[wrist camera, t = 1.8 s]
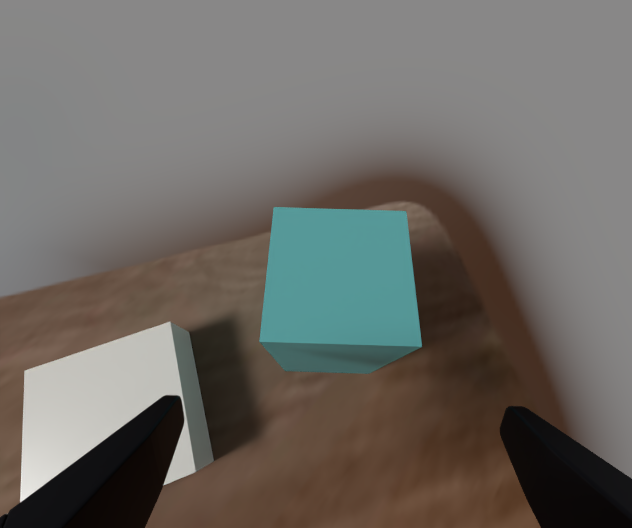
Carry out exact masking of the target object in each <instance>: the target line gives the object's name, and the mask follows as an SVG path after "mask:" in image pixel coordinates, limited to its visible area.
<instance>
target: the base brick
mask: <svg viewBox="0 0 632 528" xmlns="http://www.w3.org/2000/svg"><path fill="white" fill-rule="evenodd" d="M165 395H178V396H180V397H181V400H182V405H183V411H184V426H183V429H182V432H181V435H180V438H179V441H178V444H177V447H176V450H175V453H174V456H173V459H172V462H171V465H170V468H169V470H168V473H167V476H166V479H165V482H164V485H166V484H168V483H171V482H173V481H175V480H178V479H180V478H182V477H185V476H187V475H190V474H192V473H194V472H196V471H198V470H200V469H202V468H203V467H205V466H207V465H208V464H210V463H212V462H213V461H214V459H213V454H212V448H211V443H210V438H209V433H208V428H207V422H206V417H205V412H204V407H203V402H202V397H201V391H200V386H199V381H198V376H197V371H196V366H195V360H194V355H193V350H192V345H191V340H190V335H189V332H188V331H186V330H184V329H182V328H181V327H179V326H177V325H175V324H174V323H172V322H168V323H165V324H162V325H159V326H156V327H153V328H150V329H147V330H144V331H141V332H138V333H135V334H132V335H129V336H126V337H123V338H120V339H117V340H114V341H111V342H108V343H105V344H102V345H100V346H97V347H94V348H91V349H88V350H85V351H82V352H79V353H76V354H73V355H70V356H67V357H64V358H61V359H58V360H55V361H52V362H49V363H46V364H43V365H40V366H37V367H34V368H31V369H28V370H25V377H24V407H23V437H22V467H21V497H20V502H22V501H23V500H24V499H26V498H27V497H28V496H30V495H31V494H32V493H34V492H35V491H36V490H38V489H39V488H40V487H42V486H43V485H44V484H46V483H47V482H48V481H50V480H51V479H52V478H54V477H55V476H56V475H58V474H59V473H60V472H62V471H63V470H65V469H66V468H67V467H69V466H70V465H71V464H73V463H74V462H75V461H77V460H78V459H79V458H81V457H82V456H83V455H85V454H86V453H87V452H89V451H90V450H91V449H93V448H94V447H95V446H97V445H98V444H99V443H101V442H102V441H103V440H105V439H106V438H107V437H109V436H110V435H111V434H113V433H114V432H115V431H117V430H118V429H120V428H121V427H122V426H124V425H125V424H126V423H128V422H129V421H130V420H132V419H133V418H134V417H136V416H137V415H138V414H140V413H141V412H142V411H144V410H145V409H146V408H148V407H149V406H150V405H152V404H153V403H154V402H156V401H157V400H158V399H160V398H161V397H163V396H165Z"/></svg>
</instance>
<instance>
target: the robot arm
mask: <svg viewBox="0 0 632 528" xmlns="http://www.w3.org/2000/svg"><path fill="white" fill-rule="evenodd" d="M183 426H184V411H183V405H182V400H181V397H180V396H178V395H165V396H163V397H161V398H160V399H158V400H157V401H156V402H154V403H153V404H152V405H150V406H149V407H148V408H146V409H145V410H144V411H142V412H141V413H140V414H138V415H137V416H136V417H134V418H133V419H132V420H130V421H129V422H128V423H126V424H125V425H124V426H122V427H121V428H120V429H118V430H117V431H115V432H114V433H113V434H111V435H110V436H109V437H107V438H106V439H105V440H103V441H102V442H101V443H99V444H98V445H97V446H95V447H94V448H93V449H91V450H90V451H89V452H87V453H86V454H85V455H83V456H82V457H81V458H79V459H78V460H77V461H75V462H74V463H73V464H71V465H70V466H69V467H67V468H66V469H65V470H63V471H62V472H60V473H59V474H58V475H56V476H55V477H54V478H52V479H51V480H50V481H48V482H47V483H46V484H44V485H43V486H42V487H40V488H39V489H38V490H36V491H35V492H34V493H32V494H31V495H30V496H28V497H27V498H26V499H24V500H23V501H22V502H20V503H19V504H18V505H16V506H15V507H14V508H12V509H11V510H10V511H9V513H8V514H4V515H3V516H1V517H0V528H145V526H146V524H147V522H148V519H149V517H150V515H151V513H152V510H153V508H154V506H155V504H156V502H157V499H158V497H159V495H160V492H161V490H162V487H163V485H164V482H165V479H166V476H167V473H168V470H169V468H170V465H171V462H172V459H173V456H174V453H175V450H176V447H177V444H178V441H179V438H180V435H181V432H182V429H183ZM500 435H501V438H502V441H503V443H504V446H505V448H506V451H507V453H508V456H509V458H510V460H511V463H512V465H513V468H514V470H515V473H516V475H517V477H518V480H519V482H520V485H521V487H522V489H523V492H524V494H525V496H526V499H527V501H528V503H529V505H530V507H531V509H532V511H533V513H534V515H535V517H536V519H537V521H538V523H539V525H540V527H541V528H632V479H631V478H630V477H628V476H627V475H625V474H624V473H622V472H621V471H619V470H618V469H616V468H615V467H613V466H612V465H610V464H609V463H607V462H606V461H604V460H603V459H602V458H600V457H598V456H597V455H596V454H594V453H593V452H591V451H590V450H588V449H587V448H585V447H584V446H582V445H581V444H579V443H578V442H576V441H574V440H573V439H572V438H570V437H569V436H567V435H566V434H564V433H563V432H561V431H560V430H558V429H557V428H555V427H554V426H552V425H551V424H550V423H548V422H547V421H545V420H544V419H542V418H541V417H539V416H538V415H536V414H535V413H533V412H532V411H530V410H529V409H527V408H525V407H522V406H509V407H507V408H506V410H505V414H504V417H503V420H502V423H501V426H500Z"/></svg>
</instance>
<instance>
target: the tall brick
mask: <svg viewBox="0 0 632 528" xmlns="http://www.w3.org/2000/svg"><path fill="white" fill-rule="evenodd" d="M260 343H261V344H262V345H263V346H264V347H265V349H266V350H267V351H268V352H269V353H270V354H271V355H272V357H273V358H274V359H275V360H276V361H277V362H278V363H279V365H280V366H281V367H282V368H283V369H284V370H285V371H300V372H332V373H364V374H369V373H371V372H373V371H375V370H377V369H379V368H381V367H383V366H385V365H387V364H389V363H391V362H393V361H395V360H397V359H399V358H401V357H403V356H405V355H407V354H409V353H411V352H413V351H415V350H417V349H419V348H421V347H422V342H421V333H420V325H419V316H418V308H417V299H416V291H415V282H414V274H413V265H412V257H411V248H410V239H409V231H408V222H407V214H406V211H382V210H349V209H348V210H347V209H315V208H283V207H274V210H273V220H272V229H271V238H270V248H269V257H268V267H267V276H266V285H265V295H264V304H263V314H262V323H261V332H260Z"/></svg>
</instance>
